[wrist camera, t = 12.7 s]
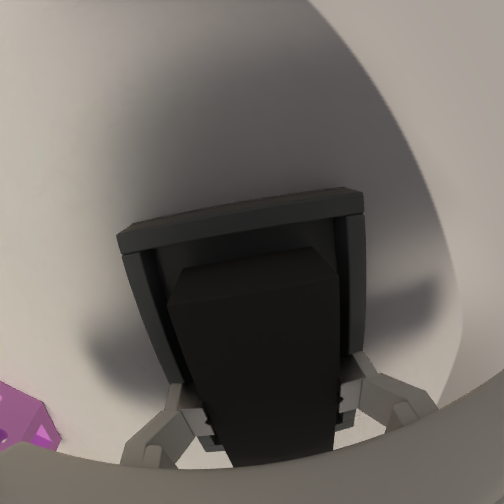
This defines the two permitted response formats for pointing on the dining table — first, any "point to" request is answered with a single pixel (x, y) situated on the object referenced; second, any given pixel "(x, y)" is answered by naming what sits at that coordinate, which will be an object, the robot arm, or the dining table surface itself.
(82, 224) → the dining table surface
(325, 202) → the base tray
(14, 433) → the bracket
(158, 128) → the dining table surface
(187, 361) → the black rectangular block
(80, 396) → the dining table surface
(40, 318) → the dining table surface
